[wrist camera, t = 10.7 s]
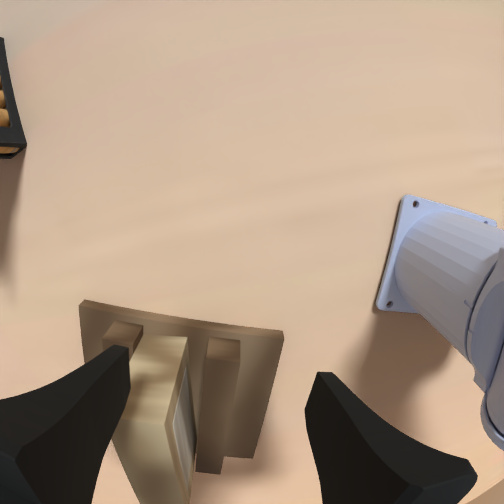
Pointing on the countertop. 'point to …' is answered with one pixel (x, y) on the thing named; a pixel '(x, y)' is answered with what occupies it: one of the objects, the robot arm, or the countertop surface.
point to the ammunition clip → (8, 113)
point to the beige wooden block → (159, 422)
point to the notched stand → (202, 372)
